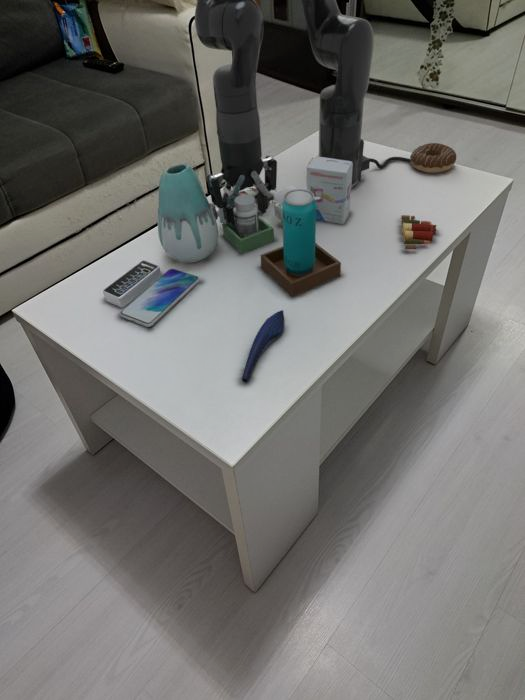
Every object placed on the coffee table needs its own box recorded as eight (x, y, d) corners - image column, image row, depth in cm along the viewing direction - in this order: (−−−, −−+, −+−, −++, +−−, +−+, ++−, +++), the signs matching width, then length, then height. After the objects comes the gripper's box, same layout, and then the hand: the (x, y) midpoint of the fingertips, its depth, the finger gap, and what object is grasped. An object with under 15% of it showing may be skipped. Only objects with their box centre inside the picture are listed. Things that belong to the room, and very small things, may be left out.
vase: (152, 255, 101) (130, 170, 88) (194, 230, 106) (179, 147, 93) (189, 277, 95) (171, 189, 82) (232, 249, 100) (222, 163, 88)
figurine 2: (273, 217, 111) (253, 225, 103) (277, 178, 107) (257, 184, 99) (324, 228, 107) (307, 237, 99) (330, 188, 103) (313, 194, 95)
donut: (463, 170, 118) (467, 153, 115) (423, 179, 116) (426, 162, 113) (439, 153, 125) (442, 137, 122) (401, 161, 123) (403, 145, 120)
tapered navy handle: (253, 389, 76) (255, 380, 74) (232, 380, 76) (233, 371, 74) (290, 318, 85) (292, 309, 83) (271, 311, 85) (273, 302, 83)
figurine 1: (203, 202, 100) (260, 174, 113) (205, 228, 104) (261, 199, 117) (226, 207, 98) (282, 179, 110) (228, 235, 101) (282, 204, 114)
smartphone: (117, 313, 87) (170, 267, 96) (119, 317, 88) (171, 271, 96) (149, 325, 84) (200, 276, 93) (150, 329, 85) (201, 280, 93)
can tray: (307, 249, 99) (307, 236, 97) (340, 275, 92) (341, 262, 90) (261, 268, 95) (260, 255, 93) (292, 297, 89) (291, 283, 87)
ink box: (305, 219, 107) (305, 166, 98) (312, 207, 110) (313, 155, 102) (343, 225, 104) (347, 171, 96) (350, 213, 107) (354, 160, 99)
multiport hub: (105, 300, 91) (101, 290, 90) (145, 269, 97) (143, 259, 96) (122, 308, 89) (119, 298, 88) (162, 275, 95) (160, 266, 94)
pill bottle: (242, 228, 105) (238, 191, 99) (263, 232, 103) (260, 195, 97) (232, 240, 102) (228, 203, 96) (254, 244, 100) (250, 207, 94)
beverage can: (293, 257, 96) (291, 185, 86) (319, 265, 94) (322, 191, 83) (278, 273, 93) (275, 200, 82) (306, 282, 91) (306, 207, 80)
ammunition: (404, 252, 96) (438, 254, 95) (406, 243, 94) (441, 244, 94) (400, 220, 104) (431, 222, 104) (402, 211, 103) (434, 212, 102)
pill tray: (255, 224, 106) (254, 212, 104) (274, 240, 102) (273, 228, 100) (223, 236, 104) (222, 223, 102) (241, 253, 99) (240, 240, 97)
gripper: (212, 151, 83) (223, 237, 95) (284, 129, 87) (287, 213, 99) (193, 136, 87) (206, 220, 99) (262, 116, 92) (267, 198, 104)
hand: (246, 216), depth 99 cm, fingers open, 6 cm apart
